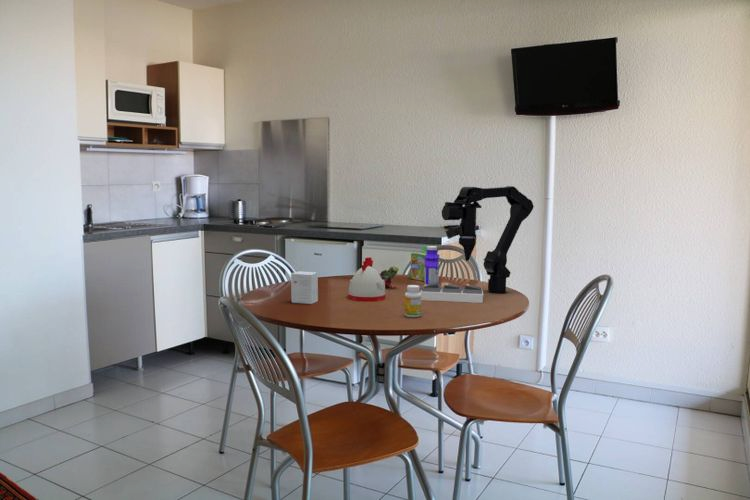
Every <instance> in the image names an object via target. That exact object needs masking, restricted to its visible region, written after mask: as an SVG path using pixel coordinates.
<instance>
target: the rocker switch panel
mask: <svg viewBox="0 0 750 500" xmlns="http://www.w3.org/2000/svg"><path fill="white" fill-rule="evenodd" d="M424 286H425V285H424V284H423V285H422V286H421V289H420V290H419V292H420V293H421V296H422V298H421V301H429V302H430V301H433V302H449V303H450V302H455V303H472V304H473V303H475V304H483V303H484V290H483V287H480V290H469V289H465V286H463V287H462V286H459V289H445V288H444V287H445V285H439V287H438V288H424Z"/></svg>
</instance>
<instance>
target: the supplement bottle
mask: <svg viewBox="0 0 750 500" xmlns="http://www.w3.org/2000/svg"><path fill="white" fill-rule="evenodd" d="M420 287H421V286H420V285H417V284H408V285H407V286H406V290H407V291H406V292H405V293H404V316H405V317H407V318H419V317H421V316H422V300H421V298H422V296H421V293H420V291H421V289H420Z"/></svg>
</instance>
